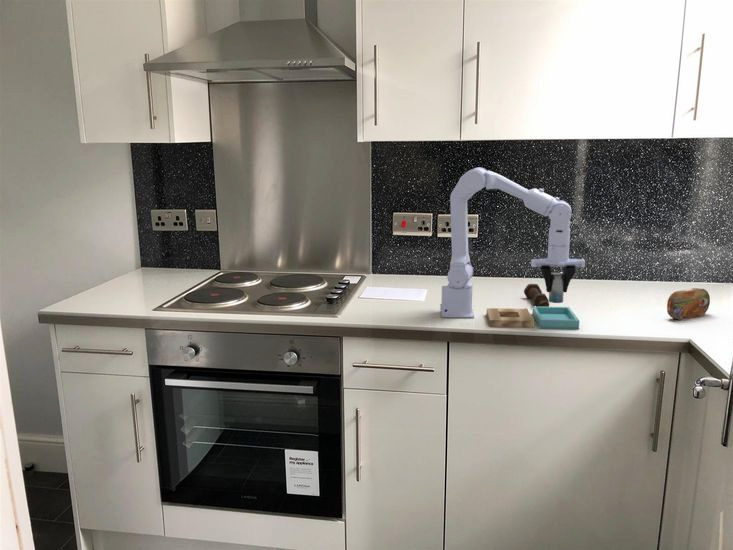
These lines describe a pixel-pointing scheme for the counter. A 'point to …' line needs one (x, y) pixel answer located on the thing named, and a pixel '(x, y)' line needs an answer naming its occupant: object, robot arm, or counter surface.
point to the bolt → (536, 295)
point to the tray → (555, 318)
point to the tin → (688, 303)
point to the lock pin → (556, 287)
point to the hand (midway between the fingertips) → (556, 291)
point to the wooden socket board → (509, 317)
